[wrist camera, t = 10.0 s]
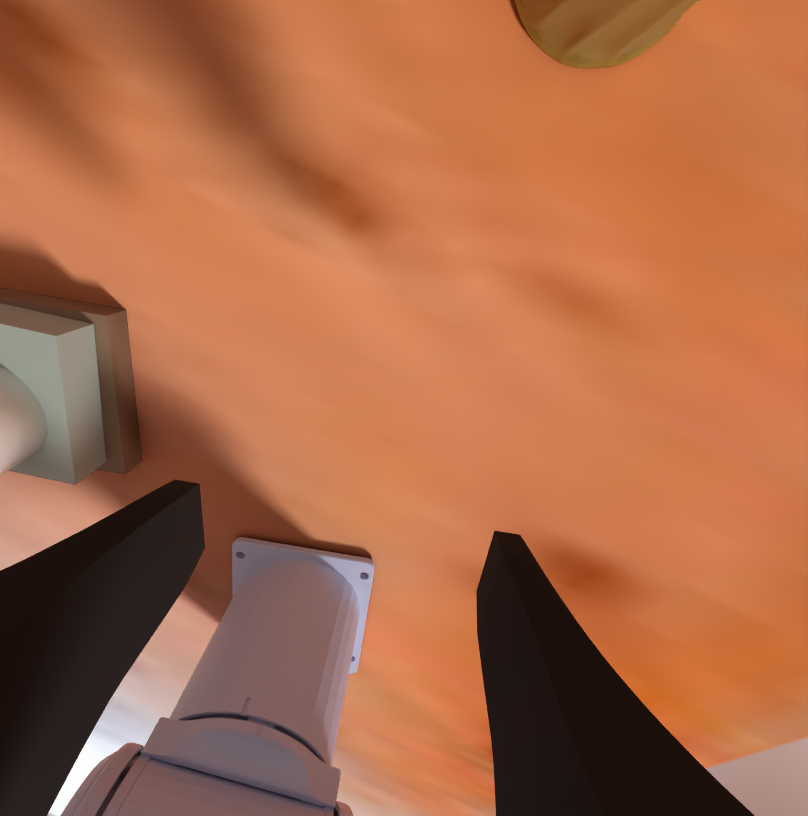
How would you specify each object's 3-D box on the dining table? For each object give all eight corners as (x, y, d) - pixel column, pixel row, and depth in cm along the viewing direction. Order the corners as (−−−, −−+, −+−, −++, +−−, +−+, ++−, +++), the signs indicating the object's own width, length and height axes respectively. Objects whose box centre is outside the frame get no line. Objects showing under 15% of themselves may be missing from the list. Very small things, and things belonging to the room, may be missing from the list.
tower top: (106, 461, 21) (75, 484, 20) (-37, 430, 21) (-81, 451, 19) (93, 323, 18) (56, 336, 17) (-72, 286, 18) (-128, 295, 16)
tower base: (149, 454, 23) (125, 474, 22) (2, 428, 23) (-35, 446, 22) (136, 306, 20) (106, 315, 18) (-36, 276, 20) (-82, 282, 18)
